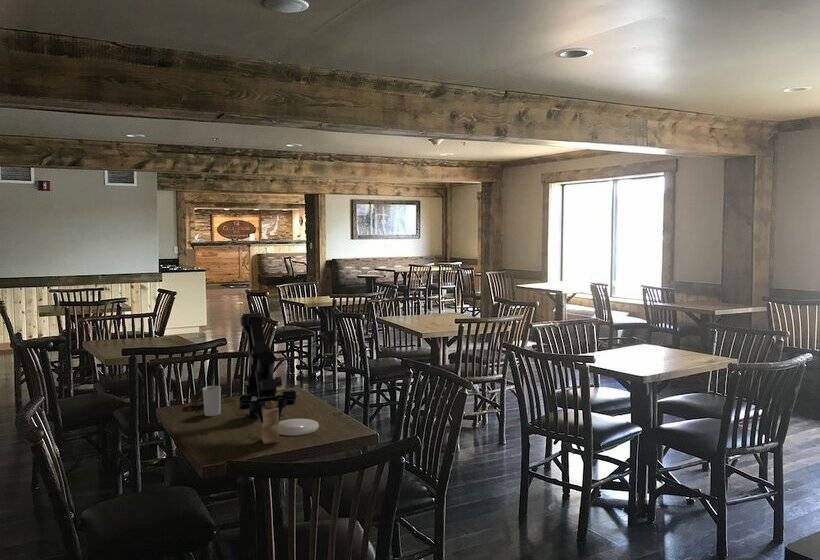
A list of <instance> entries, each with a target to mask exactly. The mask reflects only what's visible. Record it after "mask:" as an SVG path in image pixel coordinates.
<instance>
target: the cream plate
mask: <svg viewBox="0 0 820 560" xmlns="http://www.w3.org/2000/svg"><path fill="white" fill-rule="evenodd" d="M318 428H320V425H319V422H318V421H316V420H313V419H309V418H290V419H283V420H280V421H279V436H280V435H281V436H287V437H288V436H290V437H291V436H292V437H293V436H294V437H295V436H304V435H308V434H309V435H310V434H312V432H313V433H315V432H316V430H317V431H318V430H319V429H318Z"/></svg>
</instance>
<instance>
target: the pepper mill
mask: <svg viewBox="0 0 820 560" xmlns="http://www.w3.org/2000/svg"><path fill="white" fill-rule="evenodd" d="M261 413H262V417H263V424H262V423H261V422H260V423H261V441H262V443H263V444H264V445H265V444H273V443H279V442H280V435H279V422H280V421H279V409H278V407H277V405H276V404H275V402H274V401H266V402H265V407H261Z"/></svg>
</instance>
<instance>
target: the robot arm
mask: <svg viewBox="0 0 820 560" xmlns="http://www.w3.org/2000/svg"><path fill="white" fill-rule="evenodd" d="M239 320H240V326H241V327H242V332H243V334H245V336H246V337H247V345H248V346H247V347H248V361H249V372H250V373H249V376H248V379H247V381H246V384H245V386H244V394H240V395H239V396H238V410H240V411H244V410H247V412H246V414H247V416H248V418H249V419H252V418H253V419H254V418H257V419H258V420H259V422H260V423H262V424H263V417H262V413H261V407H265V402H266V401H274V403H275V402H277V405H276V406H277V407H278V409H279V422H280V421H281V414H282V411H283V409H284V408H287V406H294V405H295V404H296V400H297V397H298V396H297V391H296V390H294V389H290V390H289V389H288V390H283V394H279V395H277V393H278V389H277V388H279V387H280V388H281V387H282V386H283V383H282V382H283V380H282V377H281V376H275V378H274V375H273V372H274V368H275V365H276V364H275V363H276V361H277V357H276V355H275V354H274V353H273V352H272V351H271V347H270V346H269V345H268V344H267V343H266V339H265V333H264V327H263V326H264V325H266V324H265V315H262V314H261V313H260V312H252V313H243V316H240V319H239Z"/></svg>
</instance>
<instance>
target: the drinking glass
mask: <svg viewBox="0 0 820 560" xmlns="http://www.w3.org/2000/svg"><path fill="white" fill-rule="evenodd" d="M202 389H203V399H202V400H203V413H204V416H205V417H215V416H220V415H221V409H222V408H221V405H222V402H221V401H222V400H221V399H222V395H221V393H222V387H221V386H220V385H219V386H218V385H209V386H205V387H203V388H202Z"/></svg>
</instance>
